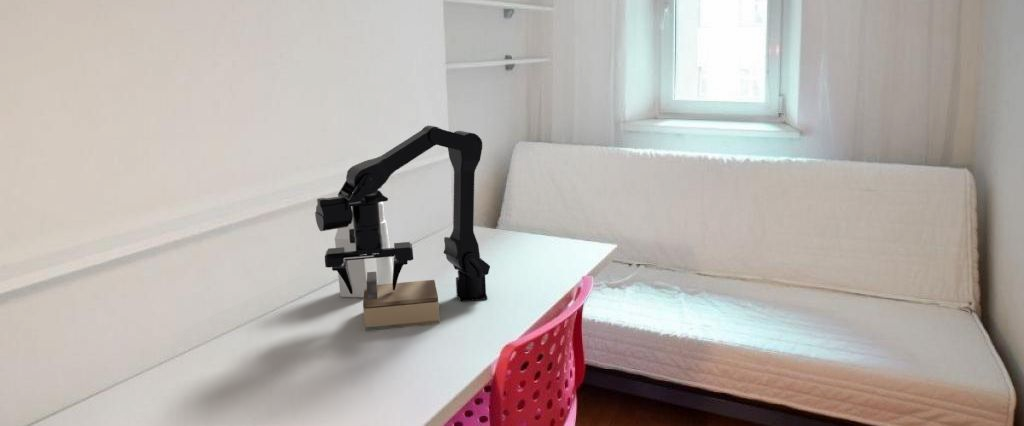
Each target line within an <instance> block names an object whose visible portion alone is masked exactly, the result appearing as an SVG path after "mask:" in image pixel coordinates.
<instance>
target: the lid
mask: <svg viewBox="0 0 1024 426" xmlns="http://www.w3.org/2000/svg"><path fill="white" fill-rule="evenodd" d="M366 283H367V286H364V298H363V301H362V307H363V308H366V307H376V306H387V305H398V304H408V303H419V302H430V301H438V302H439V295H438V291H437V286H436V285H437V284H436V281H435V279H426V280H415V281H405V282H397V283H396V287H395V290H393V284H381V285H377V275H376V272H367V282H366Z"/></svg>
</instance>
